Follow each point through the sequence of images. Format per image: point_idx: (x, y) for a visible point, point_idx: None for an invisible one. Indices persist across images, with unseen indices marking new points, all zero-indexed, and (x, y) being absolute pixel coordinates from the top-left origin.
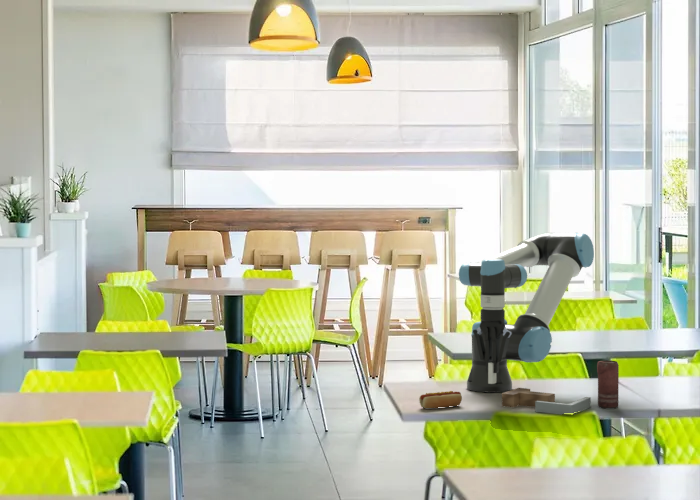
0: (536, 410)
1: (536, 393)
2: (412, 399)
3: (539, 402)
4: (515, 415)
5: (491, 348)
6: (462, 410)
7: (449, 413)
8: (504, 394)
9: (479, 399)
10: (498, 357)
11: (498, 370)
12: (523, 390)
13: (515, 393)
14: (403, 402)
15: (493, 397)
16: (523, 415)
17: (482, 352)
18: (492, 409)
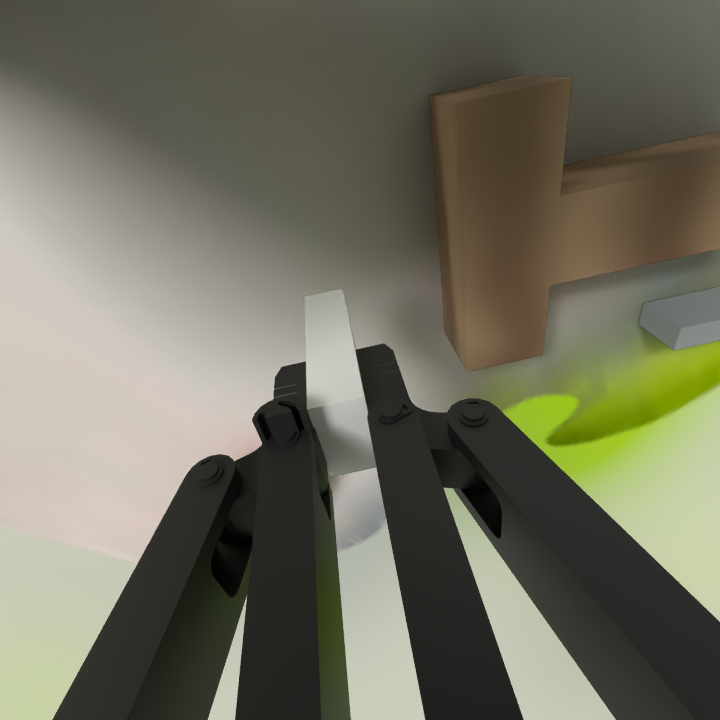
0: (647, 325)
1: (666, 231)
2: (16, 483)
3: (694, 344)
4: (579, 424)
5: (323, 598)
6: (362, 484)
7: (361, 530)
8: (481, 364)
9: (222, 270)
10: (469, 506)
11: (395, 360)
12: (547, 194)
13: (538, 322)
14: (71, 531)
15: (226, 141)
16: (608, 407)
17: (242, 600)
18: (447, 407)
